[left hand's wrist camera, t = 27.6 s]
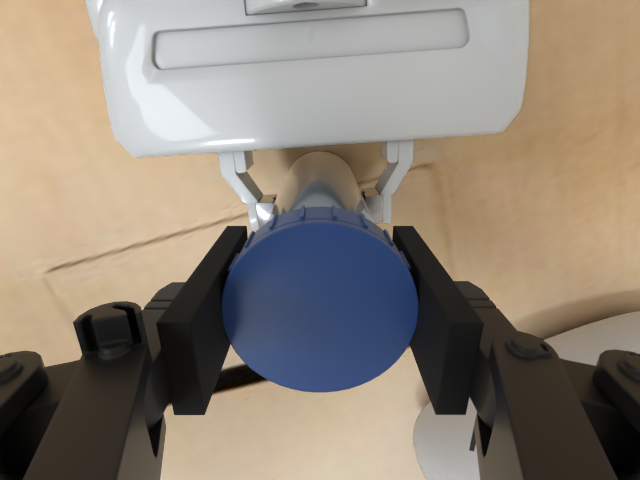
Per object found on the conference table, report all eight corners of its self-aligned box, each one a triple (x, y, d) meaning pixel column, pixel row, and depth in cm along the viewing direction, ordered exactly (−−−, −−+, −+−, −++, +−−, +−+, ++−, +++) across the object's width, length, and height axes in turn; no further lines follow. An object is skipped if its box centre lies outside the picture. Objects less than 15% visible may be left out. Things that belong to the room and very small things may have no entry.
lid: (270, 376, 13) (264, 412, 12) (202, 237, 11) (183, 260, 10) (425, 333, 13) (439, 366, 11) (381, 178, 11) (391, 191, 9)
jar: (271, 195, 26) (209, 317, 12) (310, 136, 25) (296, 189, 10) (328, 232, 28) (338, 387, 13) (368, 177, 26) (434, 281, 11)
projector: (605, 484, 38) (766, 701, 24) (390, 478, 37) (431, 695, 24) (694, 305, 30) (1011, 478, 16) (421, 294, 29) (509, 463, 16)
